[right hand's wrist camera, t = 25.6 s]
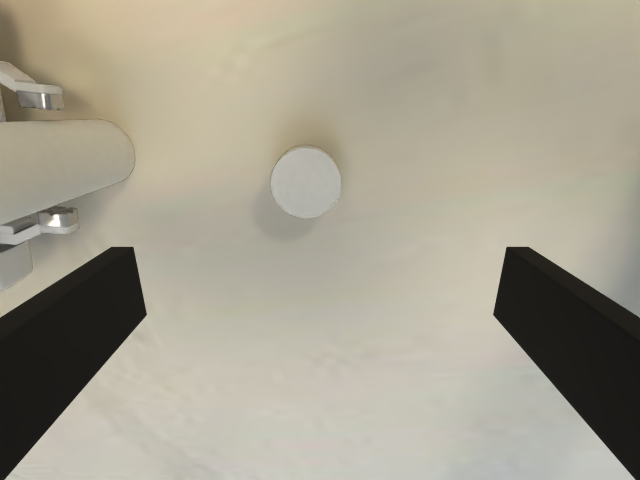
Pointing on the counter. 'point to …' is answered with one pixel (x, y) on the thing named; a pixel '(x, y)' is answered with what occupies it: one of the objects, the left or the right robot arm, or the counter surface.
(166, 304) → the counter surface
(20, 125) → the jar
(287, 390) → the counter surface
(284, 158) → the white cylinder
